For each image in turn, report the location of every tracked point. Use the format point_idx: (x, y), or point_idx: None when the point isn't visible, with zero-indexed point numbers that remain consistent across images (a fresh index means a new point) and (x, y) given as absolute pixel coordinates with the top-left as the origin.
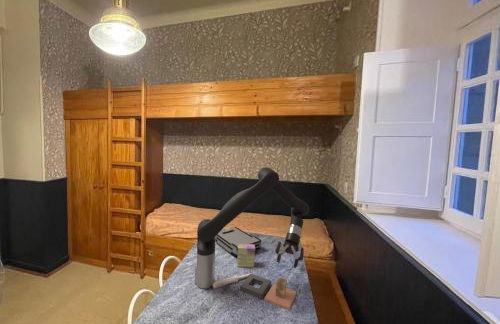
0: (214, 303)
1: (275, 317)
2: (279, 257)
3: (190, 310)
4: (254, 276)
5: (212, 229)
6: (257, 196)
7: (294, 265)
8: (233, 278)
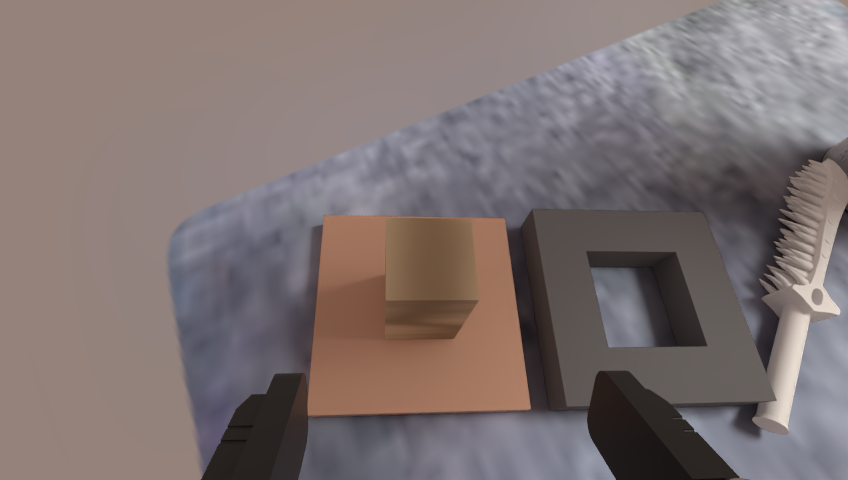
0: (694, 100)
1: (385, 147)
2: (654, 423)
3: (728, 40)
4: (716, 374)
5: None
6: None
7: (285, 379)
8: (807, 274)
